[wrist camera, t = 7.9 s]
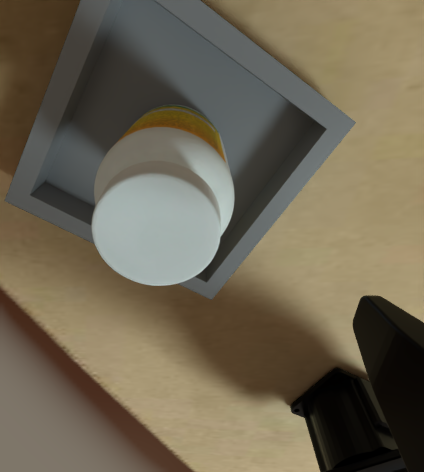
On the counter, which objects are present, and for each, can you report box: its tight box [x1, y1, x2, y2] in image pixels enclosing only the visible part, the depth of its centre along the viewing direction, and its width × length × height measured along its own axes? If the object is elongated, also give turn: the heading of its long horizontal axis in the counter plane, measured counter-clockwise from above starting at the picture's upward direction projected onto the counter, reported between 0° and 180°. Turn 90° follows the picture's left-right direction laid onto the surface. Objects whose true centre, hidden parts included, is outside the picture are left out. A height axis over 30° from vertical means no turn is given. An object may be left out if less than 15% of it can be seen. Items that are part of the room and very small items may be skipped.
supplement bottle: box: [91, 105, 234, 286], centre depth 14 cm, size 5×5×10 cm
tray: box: [5, 0, 356, 300], centre depth 18 cm, size 13×13×2 cm
